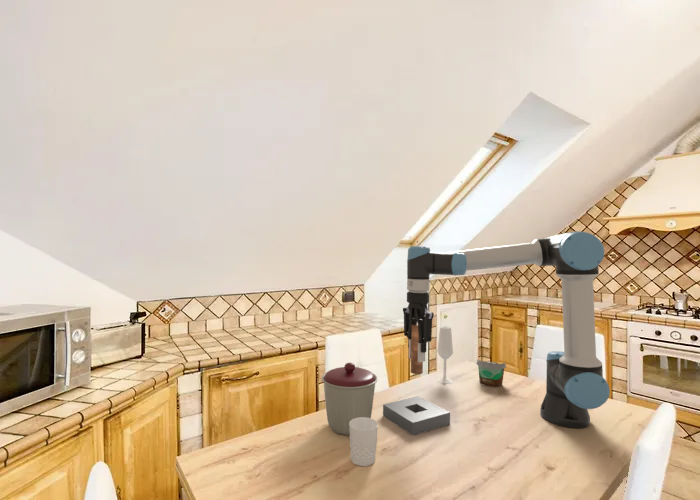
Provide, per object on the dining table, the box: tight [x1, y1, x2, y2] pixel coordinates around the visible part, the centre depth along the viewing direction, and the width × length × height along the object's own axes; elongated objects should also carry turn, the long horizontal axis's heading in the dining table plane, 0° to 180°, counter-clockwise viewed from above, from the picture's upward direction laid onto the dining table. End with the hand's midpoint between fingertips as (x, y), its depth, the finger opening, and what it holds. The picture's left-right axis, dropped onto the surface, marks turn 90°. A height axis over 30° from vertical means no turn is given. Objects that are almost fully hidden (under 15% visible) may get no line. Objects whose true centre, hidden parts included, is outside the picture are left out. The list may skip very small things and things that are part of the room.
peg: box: [410, 323, 424, 375], centre depth 130 cm, size 4×4×16 cm
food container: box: [476, 359, 507, 388], centre depth 166 cm, size 12×6×10 cm, turn 62°
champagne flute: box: [436, 325, 454, 385], centre depth 170 cm, size 7×7×24 cm
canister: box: [321, 362, 379, 436], centre depth 124 cm, size 18×18×21 cm
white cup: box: [349, 417, 379, 467], centre depth 105 cm, size 8×8×10 cm
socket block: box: [382, 395, 451, 436], centre depth 130 cm, size 16×16×4 cm
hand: (416, 359), depth 130 cm, fingers closed on peg, 4 cm apart
